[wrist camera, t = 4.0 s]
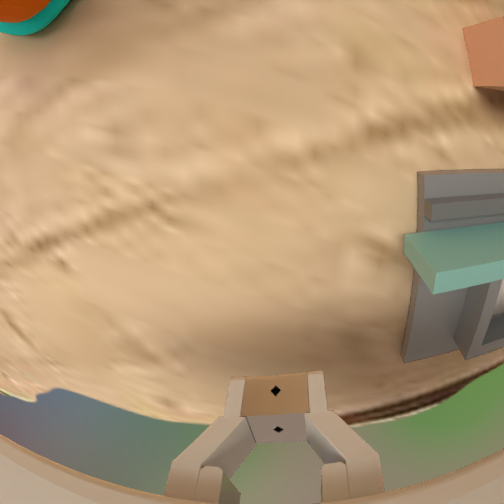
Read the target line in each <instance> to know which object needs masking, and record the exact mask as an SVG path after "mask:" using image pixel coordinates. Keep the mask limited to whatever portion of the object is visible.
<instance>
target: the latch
mask: <svg viewBox="0 0 504 504" xmlns="http://www.w3.org/2000/svg"><path fill="white" fill-rule="evenodd" d="M403 253H404V254H405V256H406V257H407V258H408V260H409V261H410V263H411V264H412V265H413V267H414V268H415V269H416V271H417V272H418V274H419V275H420V277H421V278H422V279H423V281H424V282H425V284H426V285H427V287H428V288H429V290H430V291H431V293H432V294H438V293H443V292H448V291H453V290H457V289H462V288H467V287H471V286H476V285H480V284H484V283H489V282H493V281H497V280H501V279H504V222H500V223H492V224H484V225H476V226H468V227H460V228H452V229H444V230H436V231H428V232H420V233H411V234H404V251H403Z"/></svg>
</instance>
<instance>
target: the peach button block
mask: <svg viewBox="0 0 504 504" xmlns="http://www.w3.org/2000/svg"><path fill="white" fill-rule="evenodd" d="M462 30H463V34H464V38H465V42H466V47H467V51H468V56H469V62H470V67H471V73H472V79H473V86H476V87H482V88H488V89H494V90H499V91H504V17H500V18H497V19H493V20H489V21H485V22H482V23H479V24H475V25H472V26H469V27H466V28H462Z"/></svg>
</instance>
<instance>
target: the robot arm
mask: <svg viewBox="0 0 504 504" xmlns="http://www.w3.org/2000/svg"><path fill="white" fill-rule="evenodd" d="M307 378H308V379H307ZM291 441H307V442H308V443H309V445H310V446H311V447H312V449H313V450H314V451H315V452H316V454H317V455H318V456H319V458H320V459H321V460H322V461H323V463H324V464H325V465H324V466H323V468H322V475H321V503H314V504H504V448H503V449H501V450H499V451H497V452H495V453H493V454H491V455H489V456H487V457H485V458H483V459H481V460H479V461H476V462H474V463H472V464H470V465H467V466H465V467H462V468H460V469H457V470H455V471H452V472H450V473H447V474H444V475H442V476H439V477H436V478H433V479H430V480H427V481H424V482H421V483H417V484H414V485H411V486H407V487H403V488H400V489H396V490H392V491H388V492H385V490H384V483H383V477H382V472H381V465H380V459H379V454H378V453H377V452H376V451H375V450H373V449H372V448H371V447H370V446H369V445H368V444H367V443H366V442H365V441H364V440H363V439H362V438H361V437H360V436H359V435H358V434H357V433H356V432H355V431H353V429H351V428H350V427H349V426H348V425H347V424H346V423H345V422H344V421H343V420H342V419H341V418H340V417H339V416H338V415H337V414H336V413H335V412H334V411H333V410H329V411H328V405H327V396H326V387H325V379H324V372H323V370H319V371H311V372H300V373H291V374H281V375H274V376H249V377H231V379H230V382H229V387H228V393H227V399H226V404H225V410H224V415H223V417H218V418H217V419H216V420H215V421H214V422H213V423H212V424H211V425H210V426H209V427H208V428H207V429H206V430H205V431H204V432H203V433H202V434H201V435H200V436H199V437H198V438H197V439H196V440H195V441H194V442H193V443H192V444H191V445H190V446H189V447H188V448H186V449H185V450H184V451H183V452H182V453H181V454H180V455H179V456H178V457H177V458H176V459H175V460H173V461H172V466H171V469H170V472H169V476H168V480H167V484H166V488H165V491H164V495H163V496H162V495H157V494H152V493H148V492H142V491H139V490H134V489H131V488H127V487H124V486H120V485H116V484H113V483H110V482H107V481H103V480H100V479H97V478H94V477H91V476H89V475H86V474H83V473H80V472H77V471H75V470H72V469H70V468H67V467H65V466H63V465H60V464H58V463H56V462H53V461H51V460H49V459H47V458H44V457H42V456H40V455H38V454H36V453H34V452H32V451H30V450H28V449H26V448H24V447H22V446H20V445H18V444H17V443H15V442H13V441H11V440H10V439H8V438H6V437H4V436H2V435H0V504H240V495H241V493H240V492H239V491H238V490H237V488H236V487H235V486H234V484H233V483H232V482H231V481H230V478H231V477H232V476H233V474H234V473H235V472H236V471H237V469H238V468H239V467H240V465H241V464H242V463H243V462H244V460H245V459H246V457H247V456H248V455H249V454H250V453H251V451H252V450H253V448H254V447H255V446H256V443H272V442H291Z"/></svg>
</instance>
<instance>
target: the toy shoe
mask: <svg viewBox="0 0 504 504" xmlns="http://www.w3.org/2000/svg"><path fill="white" fill-rule="evenodd" d="M69 1H70V0H0V32H2V33H7V34H12V35H27V34H32V33H36V32H38V31H40V30H42V29H43V28H45V27H46V26H47V25H48V24H50V23H51V22H52V21H53V20H54V19H55V18H56V17H57V16H58V14H59V13H60V12H61V11H62V10H63V8H64V7H65V6H66V5H67V4H68V3H69Z"/></svg>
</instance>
